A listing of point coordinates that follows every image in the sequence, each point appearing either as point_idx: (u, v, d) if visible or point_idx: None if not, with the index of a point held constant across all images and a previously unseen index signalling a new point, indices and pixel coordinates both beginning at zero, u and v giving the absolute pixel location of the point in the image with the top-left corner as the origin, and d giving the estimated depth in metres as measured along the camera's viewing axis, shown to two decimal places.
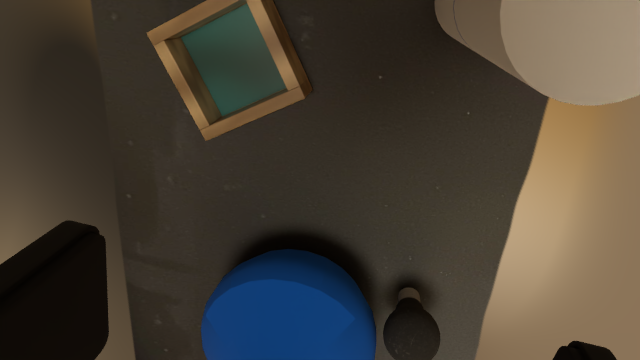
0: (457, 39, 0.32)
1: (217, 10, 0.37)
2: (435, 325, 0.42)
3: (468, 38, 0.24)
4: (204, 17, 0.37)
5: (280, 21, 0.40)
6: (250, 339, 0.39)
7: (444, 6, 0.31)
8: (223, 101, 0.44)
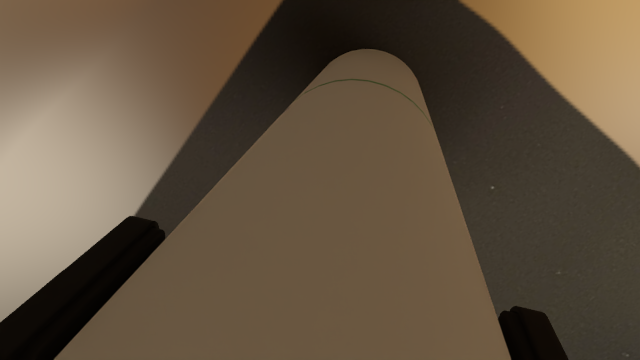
0: None
1: None
2: None
3: None
4: None
5: None
6: None
7: None
8: None
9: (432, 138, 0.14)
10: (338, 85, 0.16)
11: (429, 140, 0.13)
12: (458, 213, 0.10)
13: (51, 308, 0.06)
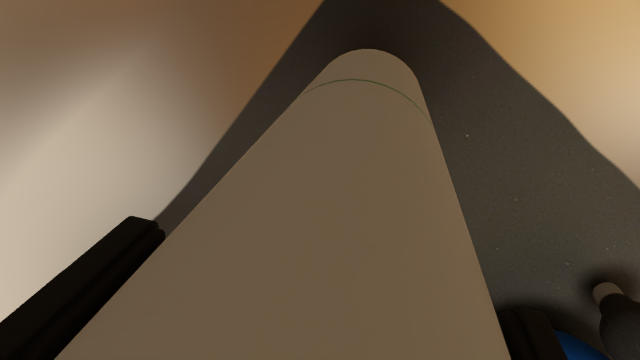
0: None
1: None
2: None
3: None
4: None
5: None
6: None
7: None
8: None
9: (432, 138, 0.14)
10: (338, 85, 0.16)
11: (429, 140, 0.13)
12: (458, 213, 0.10)
13: (51, 308, 0.06)
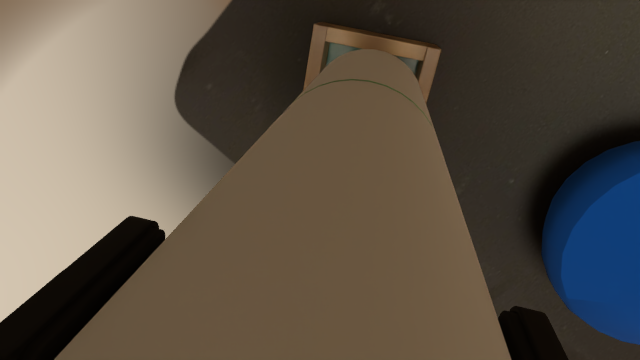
0: None
1: (318, 72, 0.38)
2: None
3: None
4: None
5: (362, 30, 0.39)
6: (638, 273, 0.31)
7: None
8: None
9: (432, 138, 0.14)
10: (338, 85, 0.16)
11: (429, 140, 0.13)
12: (458, 214, 0.10)
13: (51, 308, 0.06)
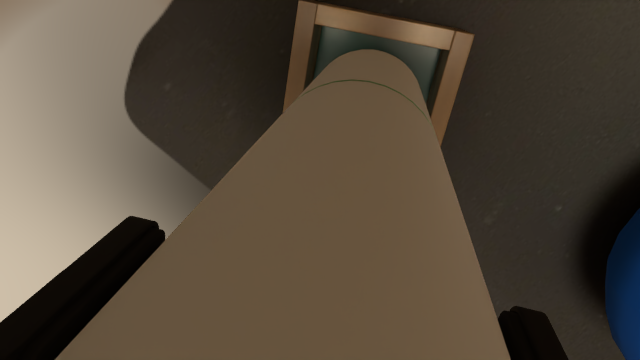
0: None
1: (305, 66, 0.28)
2: None
3: None
4: (302, 87, 0.29)
5: None
6: None
7: None
8: None
9: (432, 139, 0.14)
10: (338, 86, 0.16)
11: (429, 141, 0.13)
12: (458, 215, 0.10)
13: (51, 308, 0.06)
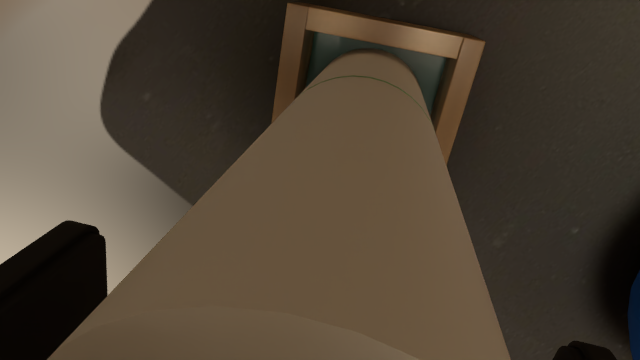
0: None
1: (296, 76, 0.25)
2: None
3: None
4: (292, 99, 0.26)
5: (361, 14, 0.26)
6: None
7: None
8: None
9: (430, 131, 0.15)
10: (340, 81, 0.16)
11: (427, 132, 0.14)
12: (453, 198, 0.10)
13: None
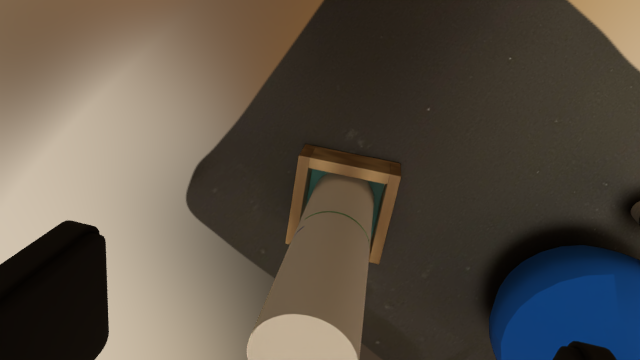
0: None
1: (303, 190, 0.47)
2: None
3: None
4: (301, 201, 0.47)
5: (339, 152, 0.48)
6: None
7: None
8: None
9: (359, 243, 0.36)
10: (323, 217, 0.38)
11: (356, 245, 0.35)
12: (356, 278, 0.32)
13: None
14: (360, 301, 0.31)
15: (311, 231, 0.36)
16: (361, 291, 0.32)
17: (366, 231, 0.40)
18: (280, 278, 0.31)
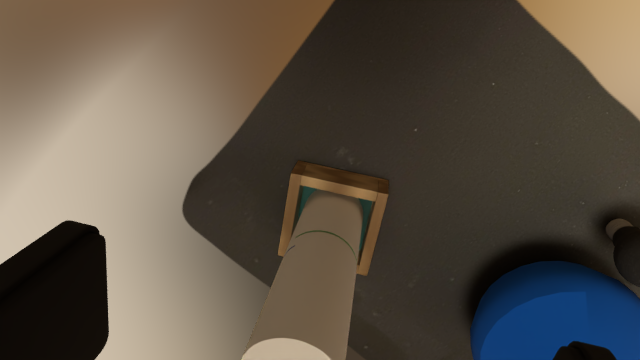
0: None
1: (295, 205, 0.49)
2: None
3: None
4: (293, 216, 0.49)
5: (329, 169, 0.50)
6: None
7: None
8: None
9: (346, 262, 0.38)
10: (313, 236, 0.40)
11: (343, 266, 0.38)
12: (342, 299, 0.34)
13: None
14: (345, 321, 0.33)
15: (301, 251, 0.38)
16: (347, 311, 0.34)
17: (354, 249, 0.42)
18: (271, 299, 0.33)
